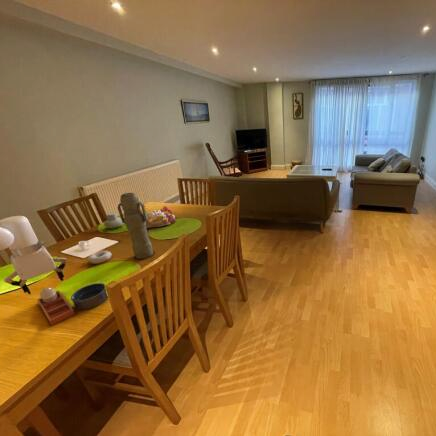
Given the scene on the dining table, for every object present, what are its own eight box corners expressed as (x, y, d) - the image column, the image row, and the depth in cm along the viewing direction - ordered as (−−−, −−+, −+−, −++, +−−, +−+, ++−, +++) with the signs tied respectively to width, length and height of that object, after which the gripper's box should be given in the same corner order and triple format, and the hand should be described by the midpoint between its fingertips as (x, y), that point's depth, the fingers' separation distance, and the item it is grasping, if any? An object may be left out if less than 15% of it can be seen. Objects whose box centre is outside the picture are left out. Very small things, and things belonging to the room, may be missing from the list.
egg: (46, 306, 95) (39, 293, 93) (43, 302, 97) (36, 289, 95) (60, 300, 98) (54, 287, 96) (57, 296, 101) (51, 283, 98)
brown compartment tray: (51, 325, 87) (49, 321, 86) (39, 303, 97) (36, 299, 96) (75, 314, 92) (73, 309, 91) (60, 294, 102) (58, 290, 102)
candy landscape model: (178, 224, 171) (175, 212, 167) (140, 231, 159) (136, 219, 156) (173, 213, 190) (171, 202, 187) (139, 219, 179) (136, 208, 175)
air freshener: (126, 225, 169) (122, 212, 165) (115, 230, 162) (111, 216, 158) (114, 223, 172) (110, 210, 168) (103, 228, 165) (99, 214, 161)
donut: (98, 255, 132) (84, 265, 123) (96, 249, 131) (82, 259, 122) (116, 254, 133) (104, 264, 123) (114, 249, 131) (102, 258, 122)
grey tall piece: (155, 257, 130) (139, 195, 117) (130, 260, 127) (110, 197, 113) (158, 249, 138) (143, 190, 124) (134, 252, 134) (116, 192, 121)
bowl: (80, 314, 92) (76, 305, 90) (71, 302, 98) (67, 293, 96) (113, 298, 100) (110, 289, 98) (103, 288, 106) (100, 279, 104)
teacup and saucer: (88, 243, 145) (85, 237, 143) (97, 245, 142) (95, 239, 141) (71, 250, 137) (69, 244, 136) (81, 252, 135) (78, 246, 133)
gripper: (54, 237, 97) (70, 271, 104) (-11, 256, 84) (12, 294, 91) (59, 242, 93) (76, 278, 100) (-8, 263, 80) (16, 302, 87)
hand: (46, 285), depth 95 cm, fingers open, 9 cm apart
